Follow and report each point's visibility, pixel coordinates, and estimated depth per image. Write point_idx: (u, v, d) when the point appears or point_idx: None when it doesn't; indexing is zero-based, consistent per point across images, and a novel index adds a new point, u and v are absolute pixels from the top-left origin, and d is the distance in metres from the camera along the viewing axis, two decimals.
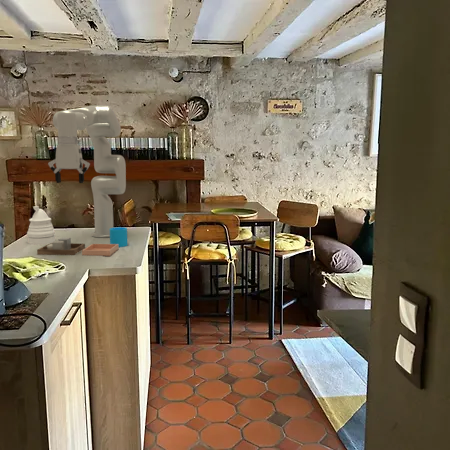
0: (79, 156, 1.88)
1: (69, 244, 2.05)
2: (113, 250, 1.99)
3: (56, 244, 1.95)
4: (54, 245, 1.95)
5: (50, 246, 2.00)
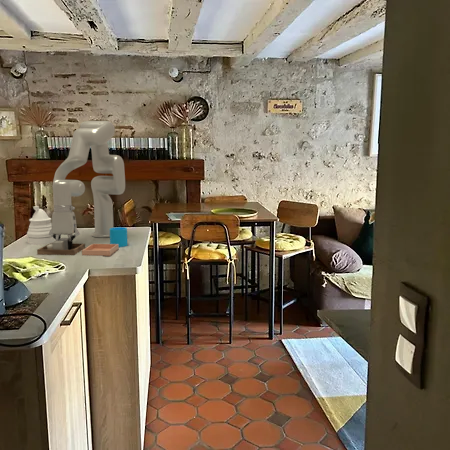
0: (73, 222, 2.02)
1: None
2: (113, 250, 1.99)
3: (56, 244, 1.95)
4: (54, 245, 1.95)
5: (50, 246, 2.00)
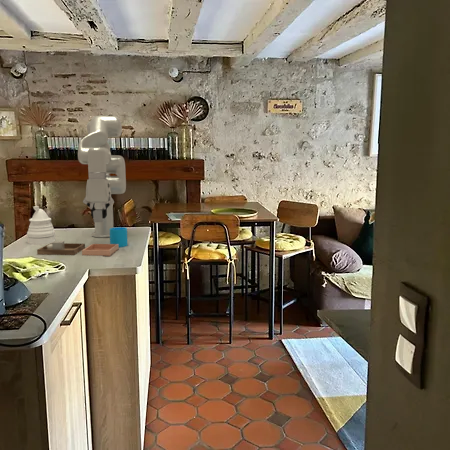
0: (108, 190, 1.98)
1: None
2: (113, 250, 1.99)
3: (56, 244, 1.95)
4: (54, 245, 1.95)
5: (50, 246, 2.00)
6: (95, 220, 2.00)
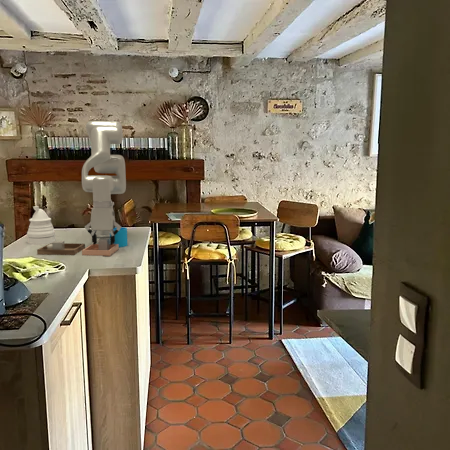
0: (113, 218, 2.00)
1: (108, 244, 2.04)
2: (113, 250, 1.99)
3: (56, 244, 1.95)
4: (54, 245, 1.95)
5: (50, 246, 2.00)
6: (100, 249, 2.02)
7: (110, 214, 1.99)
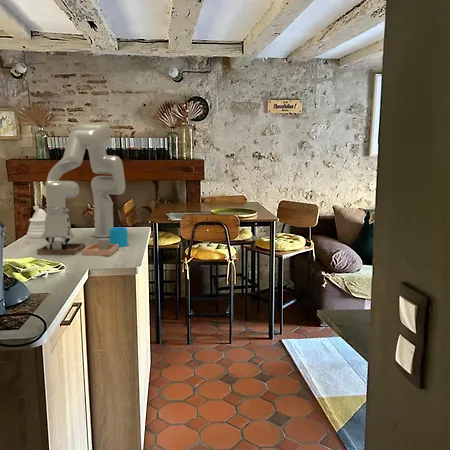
0: (67, 225, 1.95)
1: (108, 244, 2.04)
2: (113, 250, 1.99)
3: (56, 244, 1.95)
4: (54, 245, 1.95)
5: None
6: (100, 249, 2.02)
7: (64, 221, 1.93)
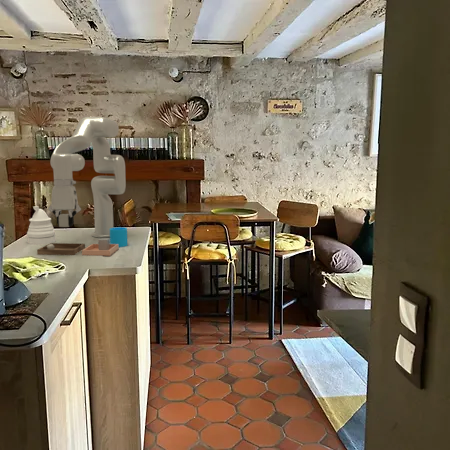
0: (74, 197, 1.93)
1: (108, 244, 2.04)
2: (113, 250, 1.99)
3: (62, 216, 1.93)
4: (60, 218, 1.93)
5: (50, 246, 2.00)
6: (100, 249, 2.02)
7: (71, 193, 1.92)
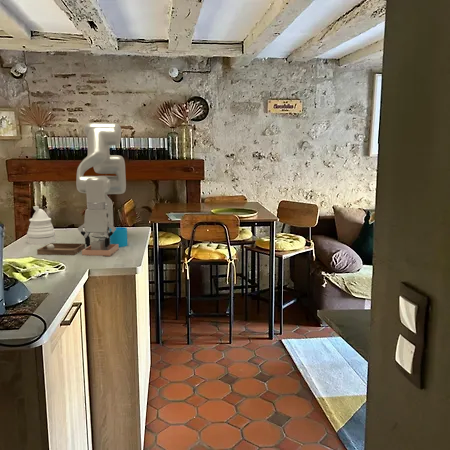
0: (107, 220, 1.95)
1: None
2: (113, 250, 1.99)
3: (95, 244, 1.95)
4: (93, 245, 1.96)
5: (50, 246, 2.00)
6: None
7: (104, 216, 1.93)
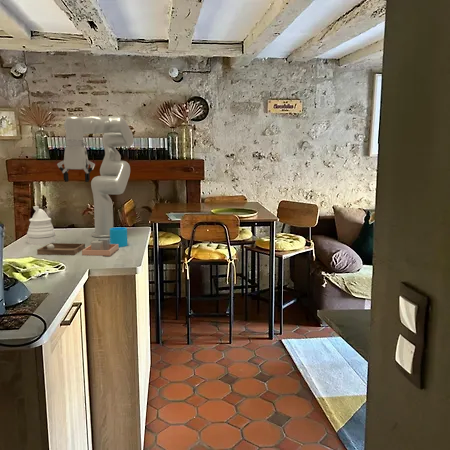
0: (85, 157, 2.07)
1: (108, 244, 2.04)
2: (113, 250, 1.99)
3: (95, 244, 1.95)
4: (93, 245, 1.96)
5: (50, 246, 2.00)
6: None
7: (83, 153, 2.06)
